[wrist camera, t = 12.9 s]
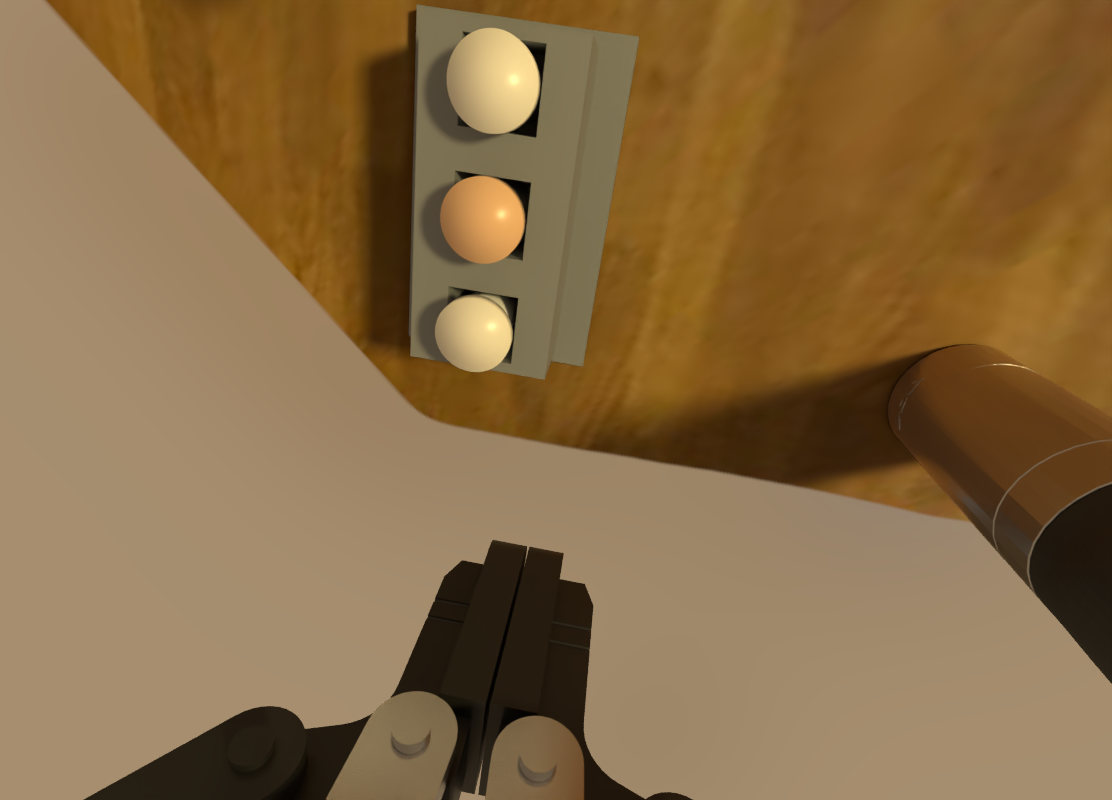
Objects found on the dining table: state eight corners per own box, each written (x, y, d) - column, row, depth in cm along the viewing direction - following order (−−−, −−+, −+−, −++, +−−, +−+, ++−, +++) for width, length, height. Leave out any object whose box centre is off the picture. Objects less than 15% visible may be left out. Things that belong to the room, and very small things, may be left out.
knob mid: (546, 175, 38) (526, 183, 31) (537, 246, 40) (517, 269, 33) (477, 164, 38) (442, 170, 31) (472, 235, 41) (438, 256, 33)
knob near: (561, 55, 35) (543, 34, 28) (550, 139, 37) (531, 140, 30) (486, 44, 35) (449, 21, 28) (480, 128, 38) (444, 126, 30)
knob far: (534, 276, 41) (513, 306, 34) (526, 337, 43) (505, 377, 36) (470, 265, 42) (436, 292, 34) (465, 327, 44) (433, 365, 36)
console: (638, 39, 35) (640, 18, 29) (583, 361, 45) (575, 398, 39) (422, 8, 36) (377, -20, 30) (412, 332, 46) (378, 363, 39)
